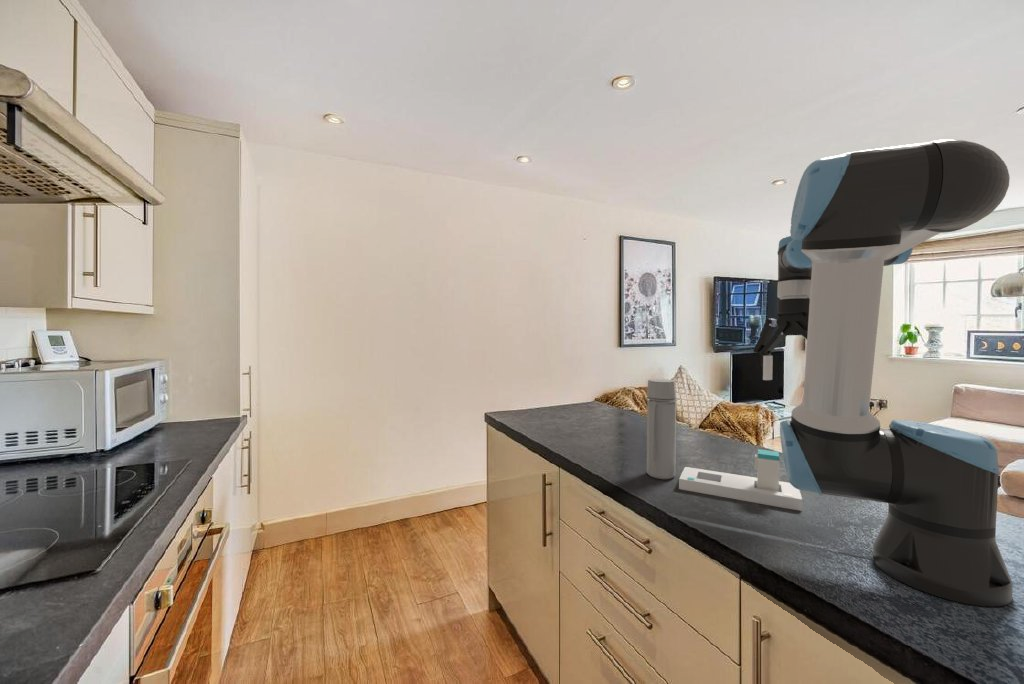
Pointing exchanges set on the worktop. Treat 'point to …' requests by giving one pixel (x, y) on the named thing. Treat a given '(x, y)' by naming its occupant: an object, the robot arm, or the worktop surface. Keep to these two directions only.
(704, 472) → the panel
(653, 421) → the water bottle
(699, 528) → the worktop surface
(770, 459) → the plug
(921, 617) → the worktop surface
